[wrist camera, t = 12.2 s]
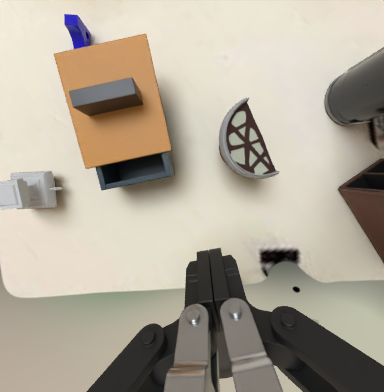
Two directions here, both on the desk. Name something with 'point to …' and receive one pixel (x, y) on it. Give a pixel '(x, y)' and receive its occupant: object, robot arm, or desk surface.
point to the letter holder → (368, 202)
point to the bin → (135, 170)
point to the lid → (114, 101)
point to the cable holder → (77, 31)
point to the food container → (244, 144)
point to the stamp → (29, 191)
